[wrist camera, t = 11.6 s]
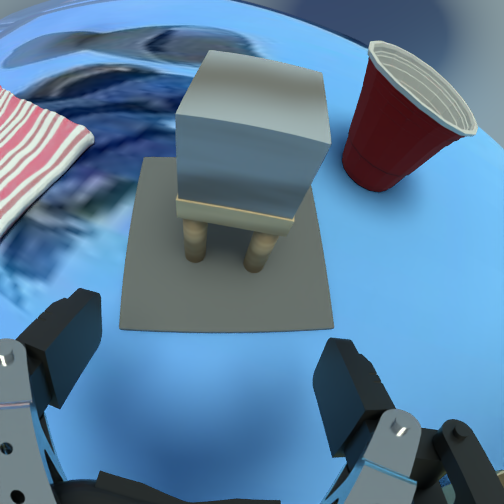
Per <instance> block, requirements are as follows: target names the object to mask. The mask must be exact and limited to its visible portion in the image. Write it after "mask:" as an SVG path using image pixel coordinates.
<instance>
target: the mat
mask: <svg viewBox="0 0 504 504" xmlns="http://www.w3.org/2000/svg"><path fill="white" fill-rule="evenodd" d="M177 194H178V184H177V160H176V157H144V159H143V163H142V168H141V172H140V177H139V182H138V187H137V192H136V197H135V202H134V208H133V213H132V219H131V225H130V231H129V238H128V245H127V252H126V259H125V268H124V276H123V286H122V296H121V308H120V322H119V329H121V330H135V331H154V332H183V333H259V332H289V331H308V330H325V329H333V328H334V322H333V314H332V307H331V299H330V292H329V285H328V278H327V272H326V265H325V259H324V253H323V247H322V241H321V235H320V230H319V224H318V219H317V213H316V208H315V203H314V198H313V193H312V188H311V185H310V187H309V189H308V191H307V193H306V195H305V196H304V198H303V200H302V202H301V204H300V206H299V208H298V210H297V212H296V214H295V217H294V223H293V225H292V227H291V229H290V230H289V232H288V234H287V236H286V237H283V236H279V238H278V240H277V242H276V244H275V245H274V247H273V249H272V251H271V253H270V255H269V257H268V259H267V261H266V263H265V265H264V267H263V269H262V270H261V271H260V272H258V273H251V272H249V271H247V270H246V269H245V267H244V265H243V261H244V258H245V255H246V252H247V250H248V247H249V244H250V241H251V238H252V235H253V233H254V231H251V230H246V229H240V228H235V227H229V226H223V225H218V224H212V223H208V228H207V241H206V254H205V258H204V259H203V260H202V261H201V262H198V263H192V262H190V261H188V260H187V258H186V257H185V248H184V233H183V218H177V211H176V198H177Z"/></svg>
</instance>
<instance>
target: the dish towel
mask: <svg viewBox="0 0 504 504" xmlns="http://www.w3.org/2000/svg"><path fill="white" fill-rule="evenodd" d="M93 144H94V136H93V135H92V133H91V132H90V131H88V129H87V128H86V127H84V126H82V125H79V124H75V123H73V122H71V121H70V120H68V119H66V118H65V117H63V116H60V115H58V114H57V113H56V112H52V111H49V110H47V109H42V108H40V107H38V106H37V105H34V104H33V103H32V102H29V101H26V100H24V99H22V100H21V99H19V98H17V97H15V96H14V94H13V93H11V92H10V91H6V90H5V89H2V87H1V86H0V239H1V238H2V237H3V235H4V234H5V233H6V232H7V231H8V229H9V228H10V227H11V226H12V225H13V224H14V223H15V222H16V221H17V220H18V219H19V218H20V216H21V215H22V214H23V213H24V212H25V211H26V210H27V209H28V208H29V207H30V206H31V204H32V203H33V202H34V201H35V200H36V199H37V198H38V197H39V196H40V195H42V194H43V193H44V192H45V191H46V190H47V189H48V188H49V187H50V186H51V185H52V184H53V183H54V182H55V181H56V180H57V179H59V178H60V177H61V176H62V175H63V174H64V173H65V172H66V171H67V170H68V169H69V167H70V166H71V165H72V164H73V163H74V162H75V161H76V160H77V159H78V157H79V156H80V155H81V154H82V153H83V152H84V151H85V150H86V149H87V148H89V147H90V146H91V145H93Z"/></svg>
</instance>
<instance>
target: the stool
mask: <svg viewBox="0 0 504 504" xmlns="http://www.w3.org/2000/svg"><path fill="white" fill-rule="evenodd" d="M330 146H331V135H330V126H329V118H328V110H327V102H326V95H325V88H324V81H323V75H322V73H321V72H317V71H314V70H310V69H306V68H303V67H299V66H295V65H291V64H286V63H282V62H278V61H273V60H268V59H263V58H258V57H253V56H247V55H241V54H235V53H229V52H221V51H214V50H209V52H208V54H207V55H206V57H205V59H204V61H203V62H202V64H201V66H200V68H199V70H198V71H197V73H196V75H195V77H194V79H193V81H192V82H191V84H190V86H189V88H188V90H187V92H186V94H185V96H184V98H183V100H182V102H181V104H180V106H179V108H178V110H177V112H176V160H177V184H178V194H177V198H176V211H177V218H183V233H184V248H185V257H186V258H187V260H188V261H190V262H192V263H198V262H201V261H202V260H203V259H204V258H205V254H206V241H207V228H208V223H212V224H218V225H223V226H229V227H235V228H240V229H246V230H251V231H254V233H253V235H252V238H251V241H250V244H249V247H248V250H247V252H246V255H245V258H244V261H243V265H244V267H245V269H246V270H247V271H249V272H251V273H258V272H260V271H261V270H262V269H263V267H264V265H265V263H266V261H267V259H268V257H269V255H270V253H271V251H272V249H273V247H274V245H275V244H276V242H277V240H278V238H279V236H283V237H286V236H287V234H288V232H289V230H290V229H291V227H292V225H293V223H294V217H295V214H296V212H297V210H298V208H299V206H300V204H301V202H302V200H303V198H304V196H305V195H306V193H307V191H308V189H309V187H310V185H311V183H312V181H313V179H314V177H315V175H316V173H317V172H318V170H319V168H320V166H321V164H322V162H323V160H324V158H325V156H326V154H327V152H328V150H329V148H330Z"/></svg>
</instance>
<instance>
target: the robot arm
mask: <svg viewBox="0 0 504 504" xmlns="http://www.w3.org/2000/svg"><path fill="white" fill-rule="evenodd" d="M101 337H102V317H101V296H100V294H99V293H97V292H93V291H89V290H86V289H82V288H79V289H77V290H76V291H75V292H74V293H73V294H72V295H71V296H70V297H69V298H68V299H67V298H63V299H61V300H58V301H56V302H54V303H52V304H51V305H50V306H49V307H48V308H47V309H46V310H45V312H43V313H42V314H41V315H40V316H39V317H38V319H35V320H34V321H33V322H32V323H31V324H30V325H29V326H28V327H27V328H26V329H25V330H24V331H23V332H22V333H21V334H20V335H19V336H18V338H17V339H16V340H14V339H0V504H281V502H280V500H251V499H229V500H220V501H208V502H185V501H182V500H180V499H177V498H175V497H172V496H170V495H168V494H165V493H163V492H161V491H159V490H156V489H154V488H152V487H150V486H148V485H145V484H143V483H140V482H136V481H133V480H129V479H126V478H122V477H119V476H116V475H112V474H109V473H106V472H103V471H100V472H99V475H98V478H97V480H90V479H79V480H69V481H67V478H66V476H65V474H64V472H63V469H62V467H61V465H60V462H59V460H58V457H57V453H56V450H55V447H54V444H53V440H52V437H51V433H50V429H49V425H48V421H47V417H46V414H45V409H46V408H47V406H48V404H49V405H51V406H54V407H56V408H58V409H61V407H62V405H63V404H64V402H65V400H66V399H67V397H68V395H69V393H70V392H71V390H72V388H73V387H74V385H75V383H76V382H77V380H78V378H79V377H80V375H81V374H82V372H83V370H84V369H85V367H86V366H87V364H88V362H89V361H90V359H91V358H92V356H93V354H94V353H95V351H96V350H97V348H98V346H99V344H100V341H101ZM376 374H377V373H376V371H375V369H374V367H373V365H372V363H371V362H370V361H368V360H367V359H366V358H365V357H364V356H363V355H362V354H359V353H358V351H357V349H356V348H355V346H354V344H353V342H352V341H351V340H349V339H340V338H329V339H328V341H327V343H326V345H325V348H324V350H323V352H322V355H321V357H320V360H319V362H318V364H317V367H316V369H315V371H314V375H313V388H314V392H315V396H316V399H317V403H318V406H319V410H320V414H321V417H322V421H323V425H324V428H325V432H326V436H327V440H328V443H329V447H330V451H331V455H332V458H334V457H346V461H347V462H346V464H345V465H344V466H343V467H342V469H341V471H340V472H339V474H338V476H337V477H336V479H335V481H334V482H333V484H332V486H331V487H330V489H329V490H328V492H327V493H326V495H325V497H324V498H323V500H322V501H321V503H320V504H448V503H447V500H446V498H445V495H444V493H443V490H442V488H441V485H440V483H439V480H440V479H441V478H442V477H443V476H444V475H445V474H446V473H447V475H448V477H449V480H450V482H451V484H452V487H453V489H454V491H455V501H454V503H453V504H504V487H503V485H502V483H501V482H500V480H499V478H498V476H497V474H496V472H495V470H494V468H493V466H492V464H491V463H490V461H489V459H488V457H487V455H486V453H485V452H484V450H483V448H482V446H481V445H480V443H479V441H478V439H477V438H476V436H475V434H474V433H473V431H472V430H471V428H470V427H469V426H468V425H467V424H465V423H464V422H462V421H459V420H455V419H450V420H447V421H446V422H445V423H444V424H443V425H442V426H441V428H440V429H439V430H433V429H426V428H421V426H420V424H419V422H418V420H417V419H416V418H415V417H414V416H413V415H411V414H410V413H408V412H406V411H403V410H399V409H396V408H395V406H394V404H393V402H392V400H391V398H390V397H389V395H388V393H387V391H386V389H385V387H384V385H383V384H382V383H381V380H380V378H379V376H378V375H376Z"/></svg>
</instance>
